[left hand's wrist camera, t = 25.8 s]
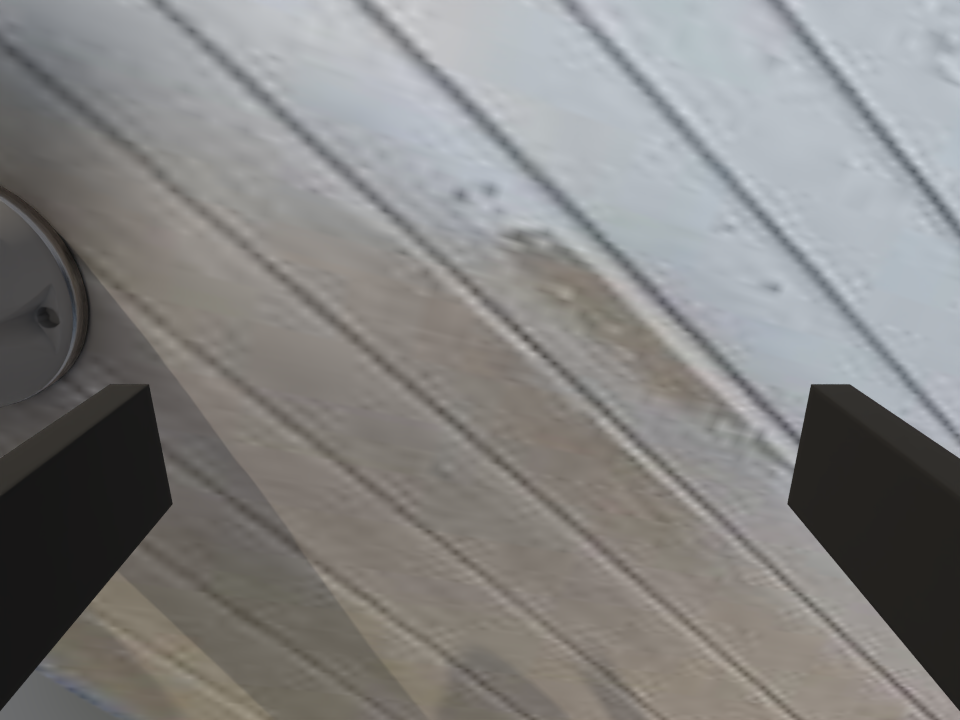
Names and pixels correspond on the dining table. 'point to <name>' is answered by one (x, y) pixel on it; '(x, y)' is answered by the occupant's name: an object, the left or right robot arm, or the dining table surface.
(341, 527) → the dining table surface
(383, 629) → the dining table surface
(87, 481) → the left robot arm
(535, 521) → the dining table surface
